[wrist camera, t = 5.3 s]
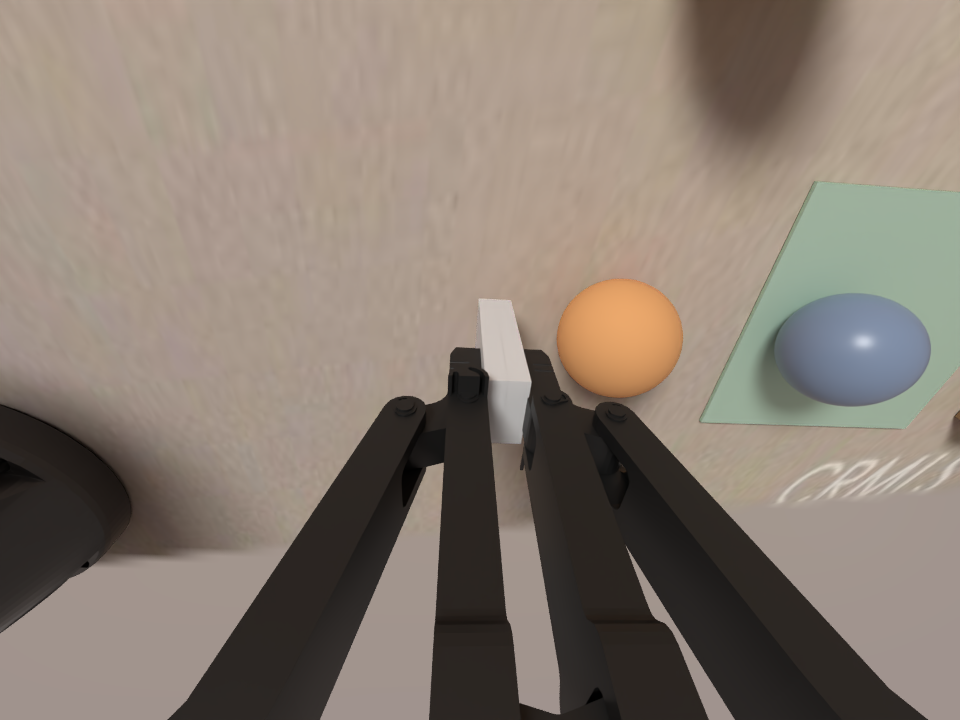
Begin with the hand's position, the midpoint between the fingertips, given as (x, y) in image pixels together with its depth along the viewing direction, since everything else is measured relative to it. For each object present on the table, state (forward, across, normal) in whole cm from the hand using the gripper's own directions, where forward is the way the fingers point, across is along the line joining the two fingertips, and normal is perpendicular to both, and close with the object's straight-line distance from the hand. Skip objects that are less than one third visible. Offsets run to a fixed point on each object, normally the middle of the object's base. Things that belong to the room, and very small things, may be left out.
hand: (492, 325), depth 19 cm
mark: (+2, +21, 0) cm, 21 cm away
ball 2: (-1, +17, 0) cm, 17 cm away
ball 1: (-1, +6, 0) cm, 6 cm away
